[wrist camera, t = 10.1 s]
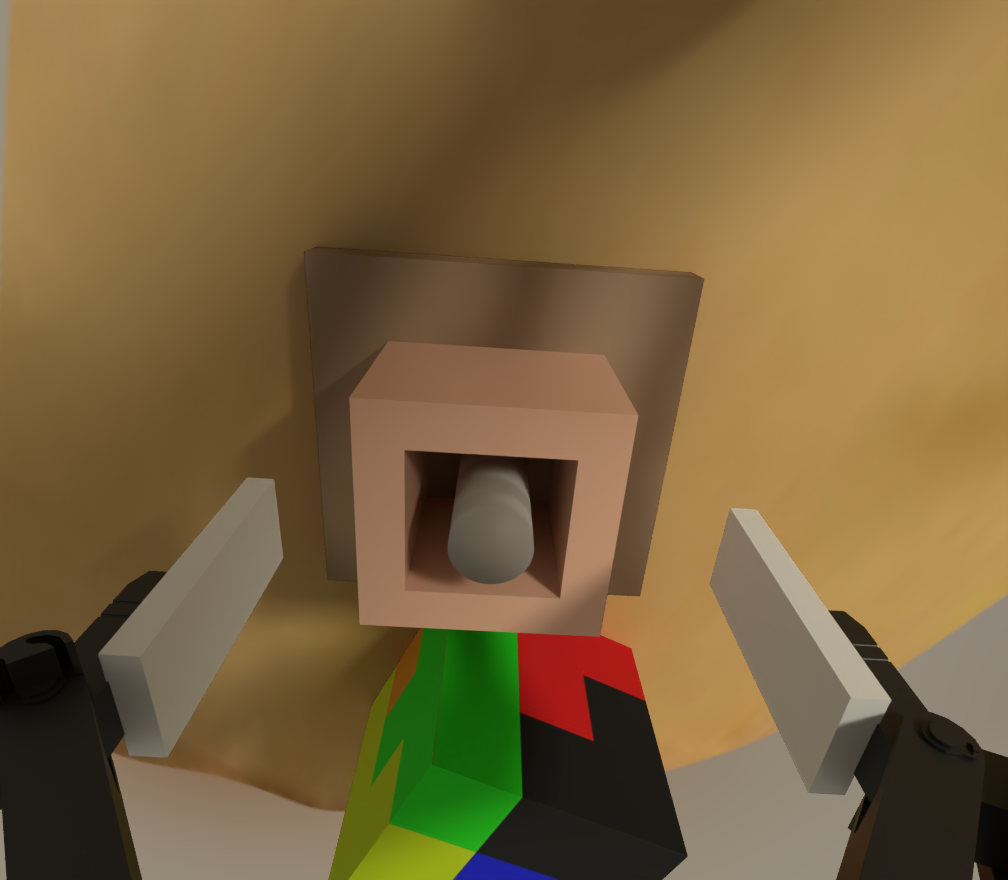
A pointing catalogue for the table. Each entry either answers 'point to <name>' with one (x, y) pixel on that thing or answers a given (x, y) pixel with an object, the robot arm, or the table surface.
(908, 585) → the table surface
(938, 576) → the table surface
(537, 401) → the collar
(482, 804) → the puzzle toy
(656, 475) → the square plate with peg
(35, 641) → the robot arm
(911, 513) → the table surface
